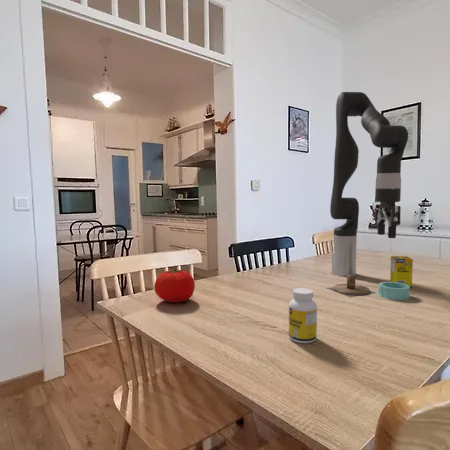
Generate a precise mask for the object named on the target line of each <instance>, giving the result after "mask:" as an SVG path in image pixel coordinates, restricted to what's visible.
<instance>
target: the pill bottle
mask: <svg viewBox="0 0 450 450" xmlns="http://www.w3.org/2000/svg"><path fill="white" fill-rule="evenodd" d="M292 297H293V299H291V300H290V301H289V303H288V337H289V339H290V340H291V341H293V342H295V343H297V344H298V343H299V344H311V343H313V342H315V341H316V339H317V336H318V335H317V334H318V333H317V327H318V324H317V323H318V306H317V305H318V304H317V303H316V301H314V300H313V298H314V291H313V289H310V288H305V287H304V288H303V287H301V288H300V287H299V288H294V289H293V290H292Z"/></svg>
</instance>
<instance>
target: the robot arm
mask: <svg viewBox="0 0 450 450" xmlns="http://www.w3.org/2000/svg"><path fill="white" fill-rule="evenodd" d="M335 105H336V106H335V118H336V119H335V124H336V126H335V127H336V128H335V129H336V130H335V132H336V135H335V147H334V148H335V149H334V161H333V183H332V190H331V191H332V192H331V196H330V197H331V199H330V205H329V206H330V208H329V209H330V212H329V213H330V217H331V218H332V220H346V221H345V222H344V223H343V224H342V225H340V226H336V227H335V228H334V229H333V251H332V252H331V274H333V275H334V276H338V277H345V278H347V275H355V276H356V275H357V245H358V244H357V237H358V236H357V233H358V229H359V216H360V215H359V213H360V206H359V201H358V199H357V198H355V197H343V192H344V190H345V189H344V188H345V187H346V185H347V183H348V182H349V180H350V179H351V178H352V176H353V175H354V173H355V172H356V170H357V168H358V165H359V153H360V151H359V147H358V144H357V143H356V142H357V141H356V140H355V139H354V137H353V135H352V133H351V131H350V127H349V123H348V122H349V121H348V117H361V119H360V123H361V126H362V128H363V129H364V130H365V131H366V132H367V133H368V134H369V137H370V139H371V143H372V145H373V146H375V147H377V148H381V149H387V148H388V149H390V151H389V153H388V154H384V155H380V156H379V157H378V158H377V162H376V178H375V192H374V195H375V197H374V200H375V202H376V203H378V204H375V214H374V222H376V224H377V235H379V236H381V235H382V236H384V235H385V234H386V222H387V226H388V227H387V238H388V239H396V237H397V227H398V226H400V225H401V213H402V212H401V209H402V208H401V206H400V205H396V203H399V202H401V197H402V196H401V195H402V193H401V192H402V175H401V171H402V169H401V168H402V158H403V157H404V153H405V150H406V149H405V148H406V146H407V143H408V141H409V140H408V139H409V132H408V130H407V128H406V126H404V125H398V124H397V125H393V124H392V125H391V123H390V121H389V119H388V118H387V117H385V116H384V115H383V114H382V113H380V112H379V111H378V110H377V109H376V107H375V106H374V104H373V102H372V101H371V99H370V98H369V97H368V95H367V94H366V93H364V92H362V91H342V92H340V93H339V94H338V96H337V99H336V104H335Z"/></svg>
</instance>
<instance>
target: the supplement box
mask: <svg viewBox="0 0 450 450" xmlns="http://www.w3.org/2000/svg"><path fill="white" fill-rule="evenodd" d="M413 262H414V259H413V258H411V257H409V256H405V255H391V256H390V275H389V276H390V277H389V278H390V281H389V282H397V283H402V284H406V285H408V286H410V289H412V288H413V286H412V285H413V265H414V264H413Z"/></svg>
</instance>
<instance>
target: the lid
mask: <svg viewBox="0 0 450 450" xmlns="http://www.w3.org/2000/svg"><path fill="white" fill-rule="evenodd" d="M332 287H333V290H334V291H333V292H335V291H336V292H335V293H337V292H338V294H340V293H341V294H340V295H343V294H346V295H361V296H366V294H368V293H369V290H370V288H368V287H366V286H365V285H360V284H356V275H347V277H346V283H341V284H338V283H337V284H335V285H333V286H332ZM368 295H369V294H368Z"/></svg>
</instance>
